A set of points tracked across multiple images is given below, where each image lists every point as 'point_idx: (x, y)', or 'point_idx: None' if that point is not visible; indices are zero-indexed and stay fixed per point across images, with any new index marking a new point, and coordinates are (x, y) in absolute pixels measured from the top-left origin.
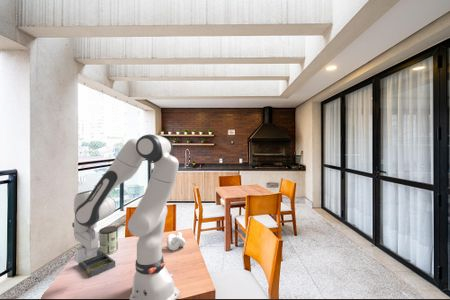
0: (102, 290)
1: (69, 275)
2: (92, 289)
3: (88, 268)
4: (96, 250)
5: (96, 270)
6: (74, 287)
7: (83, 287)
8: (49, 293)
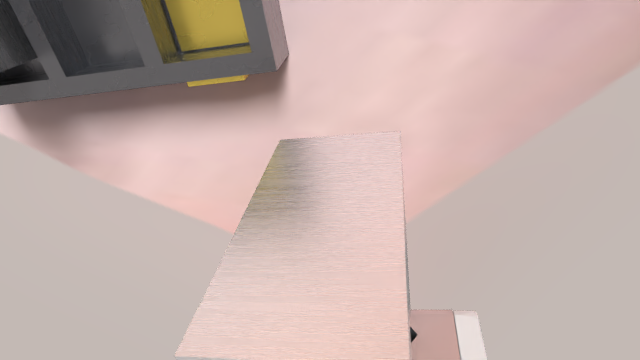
0: (592, 24)
1: (155, 166)
2: (491, 87)
3: (198, 75)
4: (402, 207)
5: (268, 11)
6: None
7: (400, 130)
8: None
